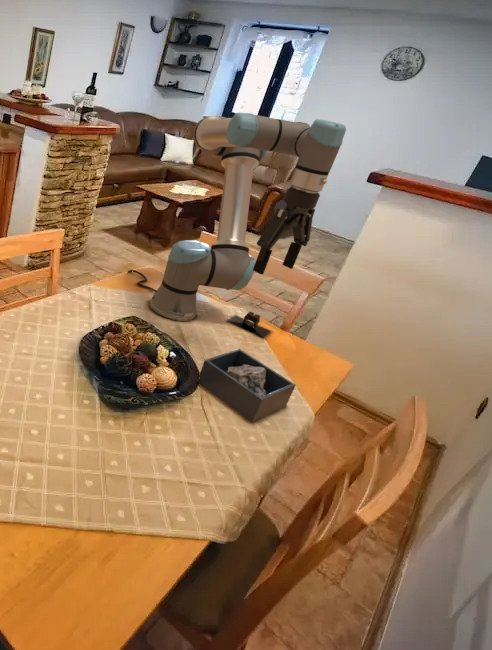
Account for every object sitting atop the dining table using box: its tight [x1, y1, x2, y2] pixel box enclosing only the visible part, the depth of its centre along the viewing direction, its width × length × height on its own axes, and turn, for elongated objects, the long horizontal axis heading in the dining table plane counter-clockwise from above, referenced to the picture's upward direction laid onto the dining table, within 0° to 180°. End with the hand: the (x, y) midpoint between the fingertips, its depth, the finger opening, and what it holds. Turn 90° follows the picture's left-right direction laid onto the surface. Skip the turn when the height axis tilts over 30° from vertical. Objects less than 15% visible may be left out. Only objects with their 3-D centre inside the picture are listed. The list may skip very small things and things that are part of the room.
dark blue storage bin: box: [198, 348, 296, 423], centre depth 128 cm, size 18×15×7 cm
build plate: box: [227, 311, 272, 339], centre depth 164 cm, size 12×7×5 cm, turn 51°
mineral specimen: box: [227, 364, 266, 397], centre depth 128 cm, size 10×8×10 cm
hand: (273, 269), depth 131 cm, fingers open, 13 cm apart
